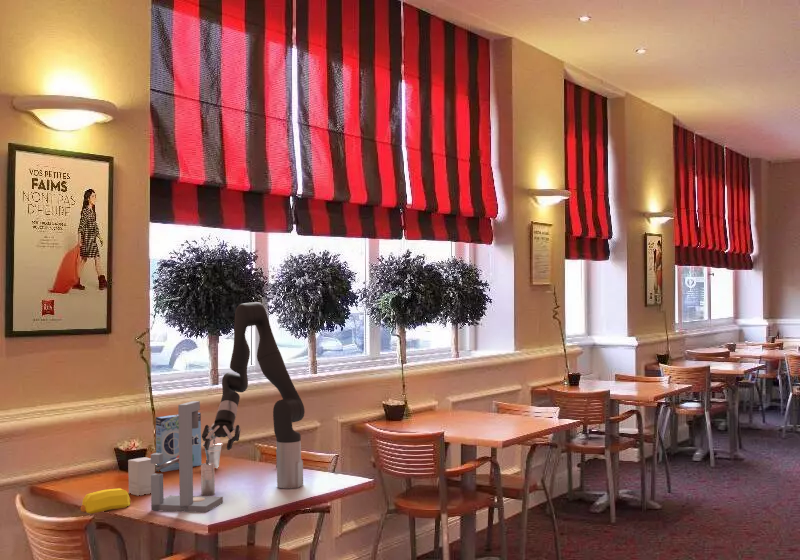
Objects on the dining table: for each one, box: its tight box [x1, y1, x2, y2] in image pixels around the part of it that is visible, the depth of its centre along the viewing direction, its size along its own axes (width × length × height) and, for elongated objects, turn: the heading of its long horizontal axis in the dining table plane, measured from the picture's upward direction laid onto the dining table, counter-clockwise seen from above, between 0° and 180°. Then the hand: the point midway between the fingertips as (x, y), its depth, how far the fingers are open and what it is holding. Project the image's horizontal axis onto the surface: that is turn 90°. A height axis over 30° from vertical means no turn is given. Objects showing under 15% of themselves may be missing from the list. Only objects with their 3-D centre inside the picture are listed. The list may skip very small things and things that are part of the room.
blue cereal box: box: [155, 412, 203, 473], centre depth 369 cm, size 20×5×23 cm, turn 134°
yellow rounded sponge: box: [80, 487, 132, 515], centre depth 297 cm, size 18×7×8 cm
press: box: [150, 400, 224, 513], centre depth 299 cm, size 20×14×36 cm
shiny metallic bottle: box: [200, 459, 216, 496], centre depth 317 cm, size 5×5×12 cm
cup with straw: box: [202, 422, 224, 469], centre depth 368 cm, size 8×9×20 cm
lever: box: [155, 455, 179, 472], centre depth 304 cm, size 3×20×3 cm, turn 168°
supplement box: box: [127, 456, 156, 497], centre depth 321 cm, size 7×7×13 cm
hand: (217, 448), depth 328 cm, fingers open, 8 cm apart
